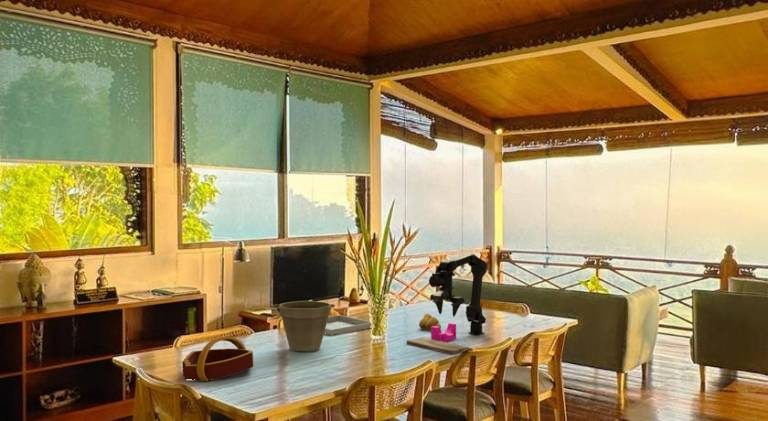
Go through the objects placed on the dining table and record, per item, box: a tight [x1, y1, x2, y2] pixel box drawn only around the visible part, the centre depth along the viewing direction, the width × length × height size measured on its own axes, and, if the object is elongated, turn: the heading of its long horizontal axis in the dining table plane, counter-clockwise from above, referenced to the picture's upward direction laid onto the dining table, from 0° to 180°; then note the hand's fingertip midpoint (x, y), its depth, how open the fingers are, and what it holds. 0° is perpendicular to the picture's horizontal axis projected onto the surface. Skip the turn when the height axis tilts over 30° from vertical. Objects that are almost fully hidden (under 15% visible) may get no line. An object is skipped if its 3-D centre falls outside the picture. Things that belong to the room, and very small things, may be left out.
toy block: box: [430, 322, 457, 343], centre depth 329 cm, size 15×6×8 cm, turn 132°
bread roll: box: [418, 313, 442, 331], centre depth 355 cm, size 13×10×8 cm
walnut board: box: [406, 336, 470, 355], centre depth 313 cm, size 12×30×2 cm, turn 43°
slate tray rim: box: [324, 314, 371, 336], centre depth 360 cm, size 31×31×3 cm
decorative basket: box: [181, 336, 254, 382], centre depth 267 cm, size 34×29×15 cm
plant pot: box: [278, 300, 332, 352], centre depth 309 cm, size 25×25×22 cm
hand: (447, 315), depth 328 cm, fingers open, 9 cm apart
